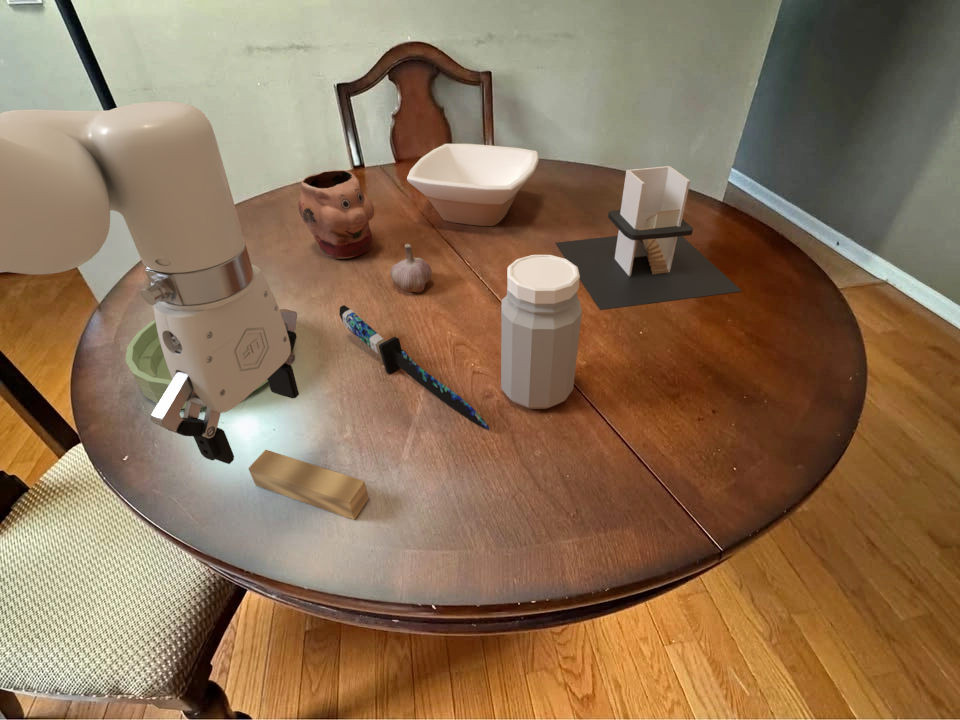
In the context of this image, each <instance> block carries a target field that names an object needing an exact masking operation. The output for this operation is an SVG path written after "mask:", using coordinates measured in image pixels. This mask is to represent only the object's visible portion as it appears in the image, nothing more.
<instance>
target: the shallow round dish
mask: <svg viewBox="0 0 960 720" xmlns="http://www.w3.org/2000/svg"><path fill="white" fill-rule="evenodd" d="M125 363H126V365H127V367H128V369H129V371H130V373H131V374H132V376H133V378H134V380H135V382H136V384H137V386H138V387H139V390H140V391H141V392H142V394H143V396H144V397H145V398H147V399H149V400H150V401H152V402H154V403H156V404H158V403H159V401H160V400H161V398H162V397H163V395H164V393H165V392H166V390H167V388H168V387H169V385H170V383H171V382H172V377H171V374H170V372H169V369H168V366H167V363H166V360H165V357H164V354H163V351H162V347H161V344H160V340H159V336H158V331H157V326H156V321H155V318H154V319H153V320H151V321H150V322H148V323H147V325H145V326H144V327H143V328H142V329H140V330H139V331H138V332H137V333H135V335H134V337H133V338H132V340H130V342H129V344H128V346H127V347H126V354H125ZM267 383H268V379H266V380H265V381H264V382H263V383H262V384H261V385H260V386H259V387H258V388H256V389H255V390H254V391H257V390H258V389H260V388H261V387H262V386H264V385H265V384H267ZM186 404H187V402H185V404H184V405H183V407H182V410H183V409H184V410H185V408H186ZM201 408H205V407H204V406H201Z"/></svg>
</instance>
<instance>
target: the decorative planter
mask: <svg viewBox="0 0 960 720" xmlns="http://www.w3.org/2000/svg"><path fill="white" fill-rule="evenodd" d="M300 184H301V192H300V194H299V198H298V212H299V215H300V216H301V218H302V221H303V223H304V224H305V225H306V226H307V228H308V230H309V232H310V233H311V235H312V237H313V238H314V239H315V241H316V242H317V244H318V245H319V248H320V251H322V253H323V254H324V255H326V256H328V257H330V258H334V259H342V260H343V259H351V258H354V257H357V256H361V255H363V254H364V253H366V252H368V251H369V250H370V249H371V247H372V242H373V234H372V230H371V227H370V223H369V221H371V220H372V219H373V218H374V216H375V206H374V204H373V203H372V201H371V200H370V198H369V197H368V196H367V195H366V194H365V192H364V191H363V188H362V185H361V181H360V180H359V178H358V177H356V175H355V174H353V173H352V172H351V171H347V170H343V169H333V170H324V171H321V172H318V173H314V174H310V175H308V176H306V177H305V178H303V179H302V181H301V183H300Z"/></svg>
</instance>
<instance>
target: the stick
mask: <svg viewBox="0 0 960 720" xmlns="http://www.w3.org/2000/svg"><path fill="white" fill-rule="evenodd" d="M248 471H249V474H250V476H251V479H252V480H253V483H254V485H255V486H256V487H258V488H261V489H264V490H268V491H269V492H273V493H276V494H279V495H282V496H285V497H287V498H291V499H292V500H296V501H299V502H302V503H305V504H307V505H310V506H313V507H316V508H319V509H321V510H325V511H328V512H331V513H332V514H336V515H339V516H342V517H345V518H348V519H351V520H353V521H355V519H356V518H357V517H358V515H359V514H360V512H361V511H362V510H363V508H364V507H365V505H366V504H367V502H368V500H369V499H370V498H369V492H368V489H367V485H366V481H365V480H363V479H359V478H356V477H353V476H349V475H347V474H343V473H341V472H337V471H334V470H331V469H328V468H325V467H321V466H319V465H315V464H312V463H309V462H306V461H303V460H300V459H297V458H294V457H291V456H288V455H285V454H282V453H279V452H275V451H272V450H269V449H264V450H263V452H262V453H261V454H260V455H259V456H258V457H257V458H256V459H255V460H254V461H253V463H252V464H250V466H249V467H248Z"/></svg>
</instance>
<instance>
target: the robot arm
mask: <svg viewBox="0 0 960 720" xmlns="http://www.w3.org/2000/svg"><path fill="white" fill-rule="evenodd" d="M111 211H114V212H117V213H119V214H120V215H121V216H122V217H123V219H124V222H125V224H126V226H127V229H128V231H129V234H130V236H131V239H132V241H133V244H134V247H135V249H136V251H137V253H138V255H139V258H140V261H141V263H142V264H143V268H144V272H145V275H146V277H147V280H148V282H149V283H148V284H147V285H146V287H144V288H142V289H141V290H140V296H141V297H142V299H143V301H145V302H146V303H147V304H148V305H151V306H153V313H154V319H155V321H156V326H157V331H158V336H159V340H160V344H161V347H162V351H163V354H164V357H165V360H166V363H167V366H168V369H169V372H170V374H171V377H172V382H171V383H170V385H169V387H168V388H167V390H166V392H165V393H164V395H163V397H162V398H161V400H160V401H159V403H157V404H156V406H155V408H154V409H153V411H152V413H151V414H150V421H151V422H152V423H153V424H156V425H157V426H160V427H162V428H164V429H165V430H168V431H169V432H172V433H175V434H178V435H180V436H183V437H193V440H194V441H195V443H196V446H197V448H198V450H199V452H200V454H201V456H203V458H205V459H207V460H209V461H215V460H216V461H219V462H221V463H224V464H227V465H230V464H231V463H233V461H234V460H235V455H234V452H233V449H232V447H231V444H230V442H229V440H228V437H227V435H226V432H225V430H223V428H220V427H218V426H219V423H220V419H221V415H222V414H224V413H227V412H229V411H231V410H233V409H235V408H236V407H237V406H238V405H239V404H241V403H242V402H243V401H244V400H245V399H246V398H248V397H249V396H250V395H251V394H252V393H253V392H254V391H256V390H257V389H256V388H258V387H259V386H260V385H261V384H262V383H263V382H264V381H265V380H266V379H268V382H267V383H268V386H269V389H270V392H272V393H273V394H275V395H276V394H277V395H278V396H279V395H280V396H282V397H286V398H289V399H296V398H297V397H298V396H299V395H300V392H299V388H298V385H297V381H296V378H295V374H294V373H295V372H294V369H293V366H292V365H293V364H294V362H295V360H296V355H295V354H294V353H293V350H294V347H295V344H296V341H297V337H298V336H297V332H295V331H296V330H297V321H298V313H297V312H296V311H294V310H291V309H287V308H280V307H279V304H278V302H277V299H276V297H275V294H274V293H273V291H272V289H271V286H270V284H269V283H268V281H267V279H266V277H265V276H264V274H263V273H262V271H261V269H260V268H259V267H258V266H256V265H254V264H252V262H251V258H250V255H249V252H248V248H247V244H246V241H245V237H244V234H243V231H242V226H241V223H240V220H239V216H238V212H237V209H236V205H235V201H234V198H233V195H232V191H231V186H230V183H229V180H228V175H227V173H226V169H225V166H224V162H223V158H222V155H221V152H220V147H219V144H218V140H217V137H216V134H215V132H214V129H213V125H212V123H211V122H210V120H209V118H208V117H207V116H206V114H205V113H204V112H203V111H202V110H201V109H199V108H198V107H195V106H194V105H192V104H188V103H184V102H180V101H169V100H168V101H166V100H165V101H164V100H163V101H162V100H161V101H160V100H159V101H146V102H145V101H144V102H137V103H131V104H125V105H122V106H118V107H115V108H111V109H109V110H65V109H64V110H63V109H62V110H60V109H33V108H31V109H30V108H29V109H15V110H14V109H13V110H8V111H3V112H0V272H5V273H12V274H22V275H53V274H59V273H64V272H68V271H70V270H71V271H72V270H74V269H76V268H79V267H81V266H82V265H84V264H85V263H87V262H89V261H90V260H92V259H93V258H94V257H95V255H96V254H98V253H99V252H100V251H101V248H102V247H103V245H104V244H105V242H106V240H107V239H108V236H109V233H110V228H111ZM255 389H256V390H255ZM258 389H259V388H258ZM185 402H187V404H186V408H184V411H183V415H182V416H183V417H182V416H181V410H183V408H182V407H183V405H184V404H185ZM201 406H204V407H203V408H206V410H205V414H204V418H203V419H202V418H200V414H201V410H202V407H201Z"/></svg>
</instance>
